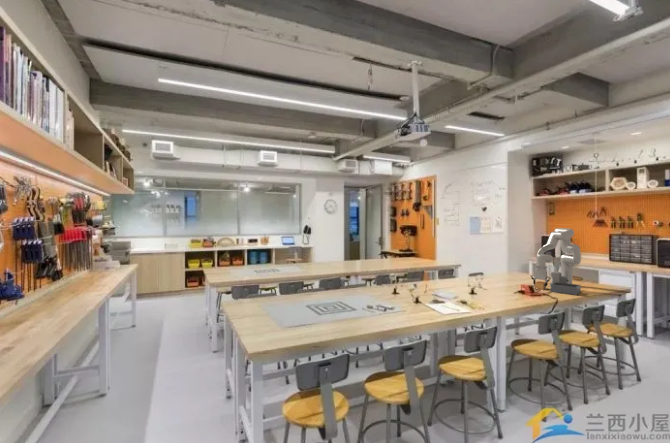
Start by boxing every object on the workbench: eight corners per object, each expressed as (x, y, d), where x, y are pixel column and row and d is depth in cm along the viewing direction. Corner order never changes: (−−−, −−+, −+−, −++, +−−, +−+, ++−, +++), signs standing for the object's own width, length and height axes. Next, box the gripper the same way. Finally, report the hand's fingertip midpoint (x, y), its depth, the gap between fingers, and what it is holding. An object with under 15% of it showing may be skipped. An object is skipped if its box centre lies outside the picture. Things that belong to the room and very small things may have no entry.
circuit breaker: (568, 289, 333) (568, 273, 333) (551, 287, 340) (551, 272, 339) (567, 287, 340) (567, 272, 340) (550, 286, 346) (550, 271, 346)
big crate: (555, 289, 333) (555, 282, 333) (580, 292, 319) (580, 285, 319) (550, 292, 320) (550, 284, 320) (576, 295, 306) (576, 287, 306)
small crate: (537, 287, 341) (537, 281, 341) (545, 288, 337) (546, 282, 336) (534, 288, 334) (535, 282, 334) (543, 289, 329) (543, 283, 329)
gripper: (552, 268, 332) (551, 286, 332) (531, 266, 344) (531, 283, 344) (550, 269, 326) (549, 287, 326) (529, 266, 338) (529, 284, 338)
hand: (540, 285), depth 335 cm, fingers open, 9 cm apart
